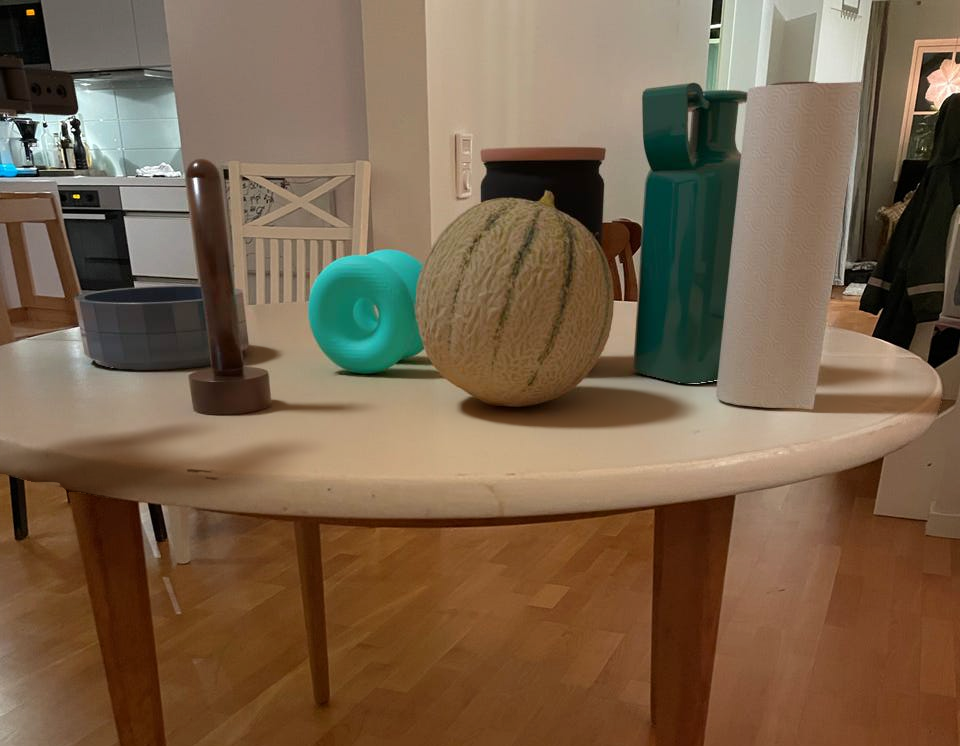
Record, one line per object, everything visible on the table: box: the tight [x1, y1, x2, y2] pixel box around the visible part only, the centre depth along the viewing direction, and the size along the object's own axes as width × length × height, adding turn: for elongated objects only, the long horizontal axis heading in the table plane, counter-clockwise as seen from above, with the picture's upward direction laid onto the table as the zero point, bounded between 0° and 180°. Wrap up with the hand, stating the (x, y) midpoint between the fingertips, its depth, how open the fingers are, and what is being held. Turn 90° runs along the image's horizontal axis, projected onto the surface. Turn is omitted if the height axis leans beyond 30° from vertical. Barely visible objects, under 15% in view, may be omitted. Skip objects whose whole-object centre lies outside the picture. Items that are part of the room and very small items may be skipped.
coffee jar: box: [480, 146, 607, 248], centre depth 82 cm, size 11×11×18 cm
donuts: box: [307, 249, 425, 375], centre depth 84 cm, size 10×10×10 cm
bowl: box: [73, 285, 250, 371], centre depth 91 cm, size 16×16×6 cm
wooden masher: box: [185, 158, 272, 416], centre depth 68 cm, size 6×6×17 cm
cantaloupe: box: [415, 190, 615, 408], centre depth 68 cm, size 15×15×15 cm
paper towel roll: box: [715, 81, 864, 410], centre depth 67 cm, size 7×6×21 cm
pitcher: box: [632, 82, 748, 383], centre depth 77 cm, size 10×8×22 cm
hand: (29, 98), depth 56 cm, fingers open, 8 cm apart
